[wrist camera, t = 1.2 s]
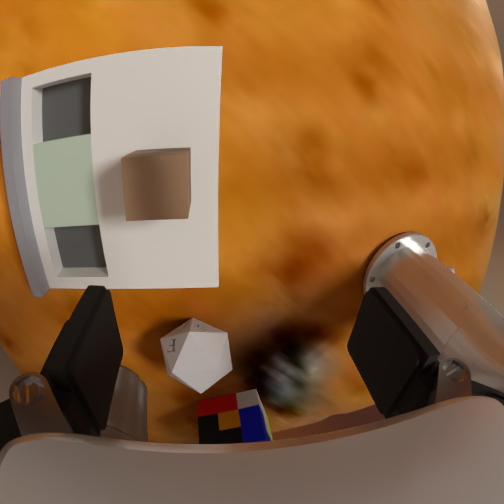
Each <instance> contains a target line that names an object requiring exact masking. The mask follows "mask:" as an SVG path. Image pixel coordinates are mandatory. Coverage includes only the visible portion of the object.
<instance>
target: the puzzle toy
mask: <svg viewBox="0 0 504 504" xmlns="http://www.w3.org/2000/svg"><path fill="white" fill-rule="evenodd" d="M198 428H199V444H236V443H252V442H265V441H273V439H272V435H271V430H270V426H269V421H268V417H267V414H266V412H265V410H264V407H263V405H262V403H261V400H260V398H259V395H258V393H257V391H256V389H253V390H248V391H244V392H240V393H235V394H231V395H226V396H221V397H216V398H211V399H206V400H201V401H198Z"/></svg>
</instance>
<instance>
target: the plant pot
mask: <svg viewBox="0 0 504 504" xmlns="http://www.w3.org/2000/svg"><path fill="white" fill-rule="evenodd" d="M100 437H105V438H113V439H121V440H130V441H141V442H148V438H147V388H146V386H145V384H144V383H142V382H141V381H140V379H139V377H138V375H137V374H135V373H134V372H133V371H131V370H129V369H128V368H126V367H123V366H121V365H120V368H119V372H118V376H117V380H116V384H115V389H114V393H113V397H112V402H111V406H110V411H109V416H108V421H107V426H106V429H105V430H101V434H100Z"/></svg>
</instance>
